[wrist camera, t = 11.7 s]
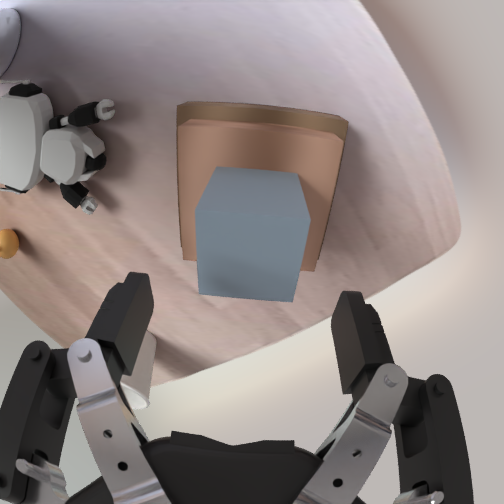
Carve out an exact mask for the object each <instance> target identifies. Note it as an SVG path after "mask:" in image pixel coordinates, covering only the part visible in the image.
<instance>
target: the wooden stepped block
mask: <svg viewBox="0 0 504 504" xmlns="http://www.w3.org/2000/svg"><path fill="white" fill-rule="evenodd" d="M347 128H348V121H347V120H345V119H343V118H341V117H340V116H337V115H332V114H326V113H320V112H314V111H308V110H301V109H294V108H286V107H277V106H268V105H257V104H244V103H225V102H186V103H183V104H180V105H178V106H177V184H178V207H179V225H180V240H181V247H182V251H183V260H191V261H197V252H196V229H195V209H196V206H197V204H198V202H199V200H200V198H201V196H202V194H203V192H204V190H205V188H206V186H207V184H208V182H209V180H210V178H211V176H212V174H213V172H214V170H215V168H216V166H218V167H234V168H247V169H259V170H270V171H280V172H289V173H297V174H298V177H299V181H300V184H301V187H302V191H303V194H304V198H305V201H306V205H307V208H308V212H309V215H310V219H311V221H310V226H309V231H308V236H307V241H306V245H305V250H304V255H303V259H302V264H301V268H300V270H301V271H313V272H314V270H315V267H316V263H317V260H318V259H319V256H320V252H321V248H322V244H323V240H324V236H325V232H326V228H327V224H328V220H329V215H330V211H331V207H332V202H333V198H334V194H335V189H336V184H337V180H338V175H339V170H340V165H341V160H342V155H343V150H344V145H345V139H346V134H347Z"/></svg>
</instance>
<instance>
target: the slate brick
mask: <svg viewBox="0 0 504 504" xmlns="http://www.w3.org/2000/svg"><path fill="white" fill-rule="evenodd" d="M310 221H311V219H310V215H309V212H308V208H307V205H306V201H305V198H304V194H303V191H302V187H301V184H300V181H299V177H298V174H297V173H289V172H280V171H270V170H259V169H247V168H234V167H218V166H216V168H215V170H214V172H213V174H212V176H211V178H210V180H209V182H208V184H207V186H206V188H205V190H204V192H203V194H202V196H201V198H200V200H199V202H198V204H197V206H196V209H195V229H196V252H197V271H198V287H199V294H202V295H211V296H221V297H232V298H243V299H255V300H268V301H281V302H293V298H294V294H295V290H296V285H297V281H298V277H299V272H300V268H301V264H302V259H303V255H304V250H305V245H306V241H307V236H308V231H309V226H310Z"/></svg>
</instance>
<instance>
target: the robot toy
mask: <svg viewBox="0 0 504 504" xmlns="http://www.w3.org/2000/svg"><path fill="white" fill-rule="evenodd" d="M30 82H31V80H24V81H5V80H0V83H21V84H18V85H16V86H14V87H12V88H11V89H10V91H9V93H7V94H6V95H4V96H2V97H1V98H0V183H1V184H4V185H5V187H6V188H0V191H8V192H15V193H16V194H21V193H26V192H27V191H28V190H30V189H32V188H33V187H34V186H35V185H36V184H38V183H39V182H40V181H41V180H42V179H43V177H45V178H46V179H47V180H48V181H49V182H50V183H51V182H53V181H55V182H56V183H57V184H58V185H60V189H61V192H62V195H63V198H64V199H65V200H66V201H67V202H68V203H70V204H71V205H72V206H73V207H74V208H75V209H76V208H77V207H78V206H79V205H80V206H81V208H82V210H83V212H85V213H87V214H89V215H90V214H93V212H94V211H95V209H96V208H97V206H98V204H97V202H96V200H95V199H94V198H92V197H89V196H87V194H88V192H89V190H88V189H87V188H85V187H84V186H83V185H82V184H81V183H80V182H79V181H87V180H88V179H89V178H90V177H92V176H93V175H94V174H95V173H96V172H97V171H98V170H101V169H102V168H104V166H105V164H106V156H105V154H104V153H102V152H104V151H105V147H104V142H103V141H102V140H101V139H99V138H98V137H97V136H95V135H94V133H93V131H92V130H91V129H90V128H88V127H87V125H90V124H94V123H98V122H99V121H100V120H101V119H103V120H108V119H110V118H112V117H113V115H114V113H115V109H114V110H111V111H108V112H107V107H112V106H114V102H113V101H112V100H110V99H103V100H102V101H101V102H91V103H88V104H85V105H81V106H78V107H77V108H76V109H75V110H74V111H73V112H72V113H71V114H70V115H69V116H67V117H65V116H64V115H59V116H56V117H53V108H52V105H51V102H50V99H49V98H48V96H47V95H46V94H43V93H42V88H40V87H38V86H37V85H35V84H33V83H30Z"/></svg>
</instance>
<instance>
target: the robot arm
mask: <svg viewBox="0 0 504 504" xmlns="http://www.w3.org/2000/svg"><path fill="white" fill-rule="evenodd" d="M20 32H21V21H20V16H19V14H18V12H17V11H16V10H14V9H0V76H2V74H3V73H4V72H5V71H6V70H7V68H8V66H9V65H10V63H11V61H12V59H13V57H14V54H15V52H16V49H17V46H18V42H19V38H20ZM153 308H154V300H153V295H152V290H151V285H150V280H149V276H148V274H146V273H137V272H129V274H128V275H127V277H126V279H125V281H124V283H117V284H116V285H115V286H113V287H112V288H111V289H110V290H109V292H108V294H107V295H106V297H105V299H104V301H103V303H102V305H101V307H100V309H99V311H98V313H97V315H96V316H95V318H94V320H93V322H92V324H91V327H90V329H89V331H88V333H87V335H86V337H85V338H84V339H80V340H77V341H76V342H74V343H73V344H72V345H71V346H70V348H67V349H50V348H49V346H48V345H47V344H46V343H45V342H43V341H34V342H32V343H30V344H29V345H28V346H27V347H26V348H25V349H24V351H23V353H22V355H21V358H20V360H19V362H18V365H17V367H16V369H15V371H14V374H13V376H12V379H11V381H10V384H9V386H8V389H7V391H6V394H5V397H4V400H3V403H2V405H1V408H0V499H2V500H5V501H8V502H10V503H12V504H366V503H365V502H363V501H362V500H361V499H360V498H359V497H358V496H357V494H358V493H359V491H360V490H361V488H362V487H363V485H364V484H365V482H366V480H367V479H368V477H369V475H370V473H371V472H372V470H373V469H374V467H375V465H376V463H377V462H378V460H379V458H380V456H381V454H382V452H383V450H384V449H385V447H386V445H387V443H388V441H389V439H390V437H391V433H392V431H391V430H390V425H391V423H392V424H394V430H395V438H396V447H397V456H398V465H399V478H400V495H399V496H398V497H397V498H396V499H395V501H394V503H393V504H474V501H473V489H472V479H471V471H470V464H469V458H468V452H467V446H466V441H465V436H464V431H463V427H462V422H461V418H460V414H459V410H458V406H457V402H456V398H455V395H454V391H453V388H452V385H451V383H450V381H449V380H448V379H447V378H446V377H445V376H443V375H440V374H434V375H431V376H430V377H429V378H428V379H427V380H426V381H425V380H421V379H416V378H411V377H408V376H407V374H406V373H405V371H404V370H403V369H402V368H401V367H400V366H398V365H396V364H395V363H394V361H393V357H392V354H391V351H390V347H389V344H388V341H387V338H386V335H385V333H384V329H383V326H382V325H381V321H380V318H379V315H378V313H377V312H376V310H375V309H374V308H373V307H372V305H371V304H365V302H364V299H363V296H362V293H361V292H358V291H342V293H341V295H340V297H339V300H338V303H337V305H336V308H335V310H334V313H333V315H332V319H331V330H332V335H333V340H334V346H335V351H336V356H337V362H338V368H339V373H340V380H341V386H342V392H343V394H352V398H353V400H352V401H351V403H350V404H349V406H348V408H347V409H346V411H345V412H344V414H343V415H342V417H341V418H340V420H339V421H338V423H337V424H336V426H335V427H334V429H333V430H332V432H331V433H330V435H329V436H328V437H327V439H326V440H325V441H324V442H323V443H322V444H321V446H320V447H319V448H318V449H317V451H316V452H315V453H314V454H313V453H311V452H309V451H307V450H305V449H302V448H299V447H295V446H294V440H291V441H288V440H287V441H285V440H284V441H283V440H282V441H279V440H278V441H276V440H263V441H258V442H253V443H247V444H241V445H234V446H232V445H228V444H225V443H222V442H219V441H216V440H213V439H210V438H207V437H205V436H202V435H195V434H189V433H182V432H177V431H172V432H171V437H163V438H158V439H155V440H152V441H149V439H148V437H147V436H146V434H145V432H144V430H143V429H142V427H141V425H140V424H139V422H138V420H137V418H136V416H135V414H134V412H133V410H132V408H131V406H130V404H129V401H128V399H127V397H126V395H125V392H124V390H123V388H122V385H121V383H120V381H121V378H122V375H127V376H131V375H132V372H133V369H134V366H135V363H136V360H137V357H138V354H139V351H140V348H141V345H142V342H143V339H144V336H145V333H146V330H147V327H148V324H149V322H150V319H151V316H152V313H153ZM75 398H78V400H79V404H78V405H77V412H78V416H79V419H80V422H81V425H82V428H83V431H84V433H85V436H86V438H87V441H88V444H89V446H90V449H91V451H92V454H93V456H94V459H95V461H96V463H97V465H98V468H99V470H100V472H101V474H102V476H101V477H99V478H98V479H96V480H95V481H94V482H92V483H91V484H90V485H88V486H86V487H85V488H83V489H82V490H80V491H79V492H77V493H76V494H74V495H73V496H71V497H69V496H68V494H67V492H66V490H65V486H66V481H65V478H64V475H63V473H62V471H61V469H60V468H59V462H60V457H61V452H62V447H63V443H64V439H65V434H66V430H67V426H68V422H69V419H70V414H71V411H72V408H73V404H74V401H75Z"/></svg>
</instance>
